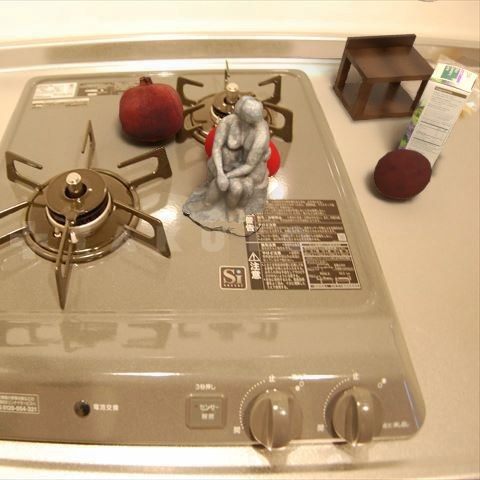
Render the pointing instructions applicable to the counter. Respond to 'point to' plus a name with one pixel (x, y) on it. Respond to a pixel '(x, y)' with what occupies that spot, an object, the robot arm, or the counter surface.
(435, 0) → the pill bottle
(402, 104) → the rack
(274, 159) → the heart
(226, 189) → the sculpture
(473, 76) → the syrup box
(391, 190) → the potato
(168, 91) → the fruit
